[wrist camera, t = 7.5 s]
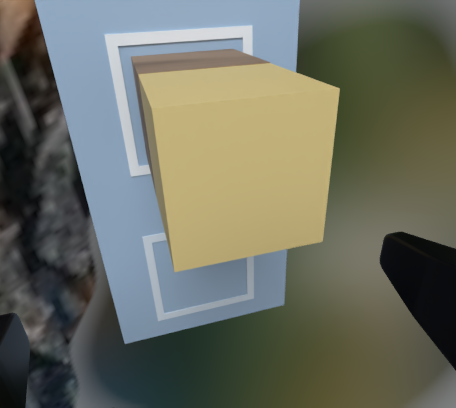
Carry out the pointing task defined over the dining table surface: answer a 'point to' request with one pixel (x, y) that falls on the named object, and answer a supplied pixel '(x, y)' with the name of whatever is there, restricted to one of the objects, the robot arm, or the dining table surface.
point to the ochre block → (239, 159)
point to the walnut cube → (184, 63)
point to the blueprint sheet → (136, 153)
